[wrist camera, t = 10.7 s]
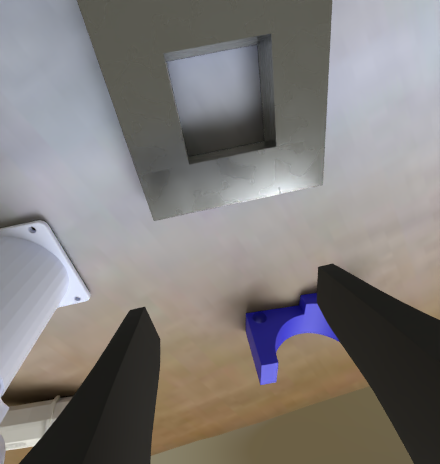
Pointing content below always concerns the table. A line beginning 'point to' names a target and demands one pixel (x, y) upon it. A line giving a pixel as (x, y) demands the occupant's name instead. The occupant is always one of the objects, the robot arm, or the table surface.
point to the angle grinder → (30, 422)
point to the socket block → (164, 106)
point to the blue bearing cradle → (282, 332)
